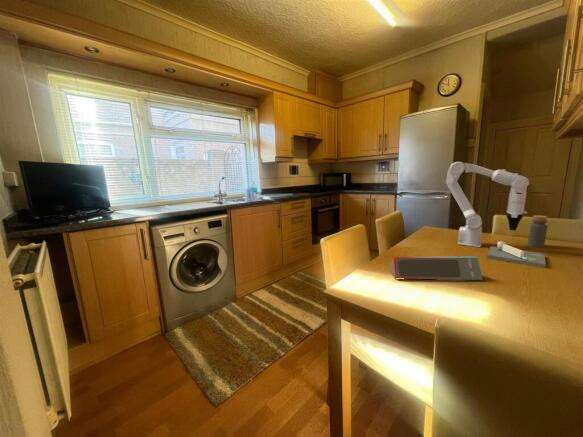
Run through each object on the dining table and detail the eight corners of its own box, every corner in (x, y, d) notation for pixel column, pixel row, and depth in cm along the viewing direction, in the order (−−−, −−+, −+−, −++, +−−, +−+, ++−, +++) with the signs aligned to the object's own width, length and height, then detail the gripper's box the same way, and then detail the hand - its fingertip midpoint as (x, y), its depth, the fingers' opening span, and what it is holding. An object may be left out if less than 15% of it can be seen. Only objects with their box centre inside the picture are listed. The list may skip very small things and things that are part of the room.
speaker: (474, 251, 91) (391, 251, 95) (488, 272, 84) (397, 271, 88) (465, 265, 97) (388, 265, 100) (477, 286, 89) (393, 285, 93)
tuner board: (486, 258, 107) (487, 254, 107) (490, 249, 118) (490, 246, 117) (545, 267, 95) (545, 263, 94) (543, 256, 105) (543, 253, 105)
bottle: (547, 247, 116) (552, 217, 113) (535, 247, 117) (540, 217, 114) (535, 243, 122) (540, 214, 119) (524, 244, 122) (528, 215, 119)
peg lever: (495, 248, 113) (496, 241, 112) (501, 248, 113) (502, 241, 112) (522, 259, 99) (523, 251, 98) (530, 259, 99) (531, 251, 98)
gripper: (528, 204, 105) (524, 234, 107) (528, 200, 115) (524, 228, 118) (507, 203, 109) (503, 232, 112) (508, 199, 120) (505, 226, 122)
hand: (512, 230), depth 115 cm, fingers closed
